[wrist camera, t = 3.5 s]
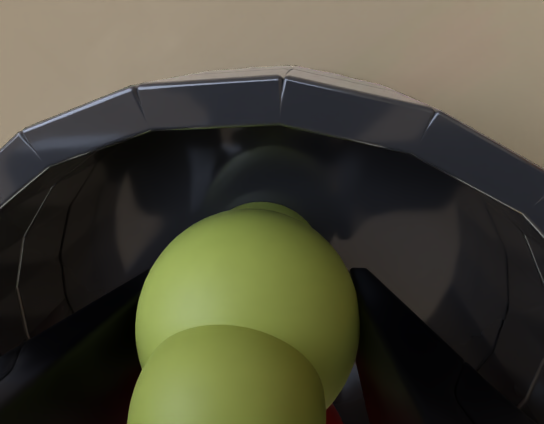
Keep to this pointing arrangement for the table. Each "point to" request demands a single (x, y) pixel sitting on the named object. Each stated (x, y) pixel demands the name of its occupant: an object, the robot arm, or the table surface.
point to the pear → (245, 323)
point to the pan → (284, 204)
